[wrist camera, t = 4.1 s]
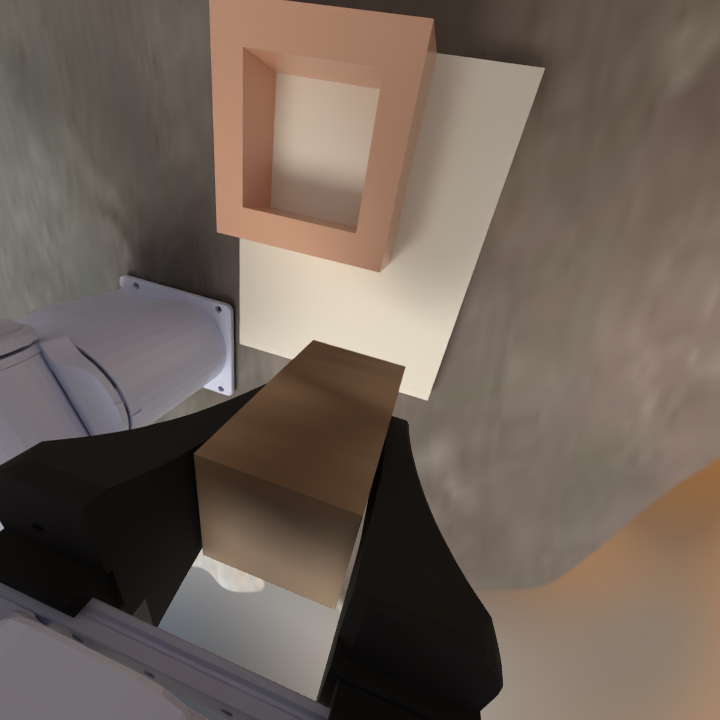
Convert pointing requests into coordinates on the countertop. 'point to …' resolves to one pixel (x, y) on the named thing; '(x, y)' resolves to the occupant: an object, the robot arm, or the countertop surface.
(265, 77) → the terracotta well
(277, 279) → the cream board
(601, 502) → the countertop surface
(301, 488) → the walnut block
